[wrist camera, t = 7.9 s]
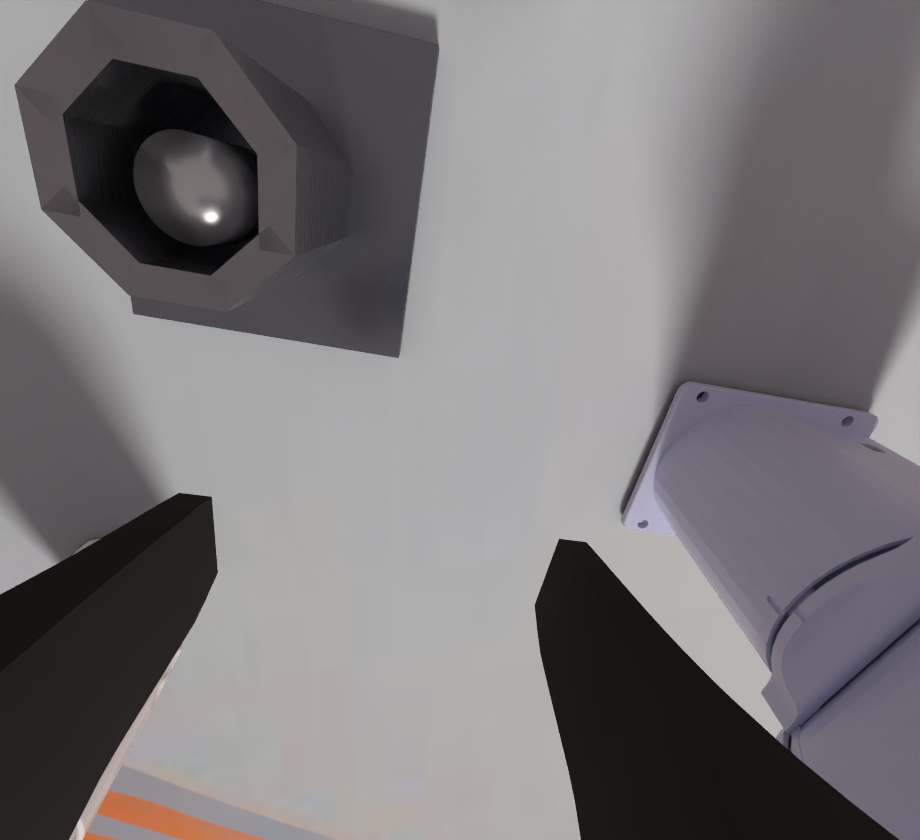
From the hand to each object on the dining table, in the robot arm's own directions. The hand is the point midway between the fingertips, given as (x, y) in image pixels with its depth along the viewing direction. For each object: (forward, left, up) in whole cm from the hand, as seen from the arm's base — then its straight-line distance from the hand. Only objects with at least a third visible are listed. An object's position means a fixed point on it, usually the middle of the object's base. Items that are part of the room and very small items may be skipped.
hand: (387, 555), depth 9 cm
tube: (+6, -6, -10) cm, 13 cm away
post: (+6, -6, -10) cm, 13 cm away
